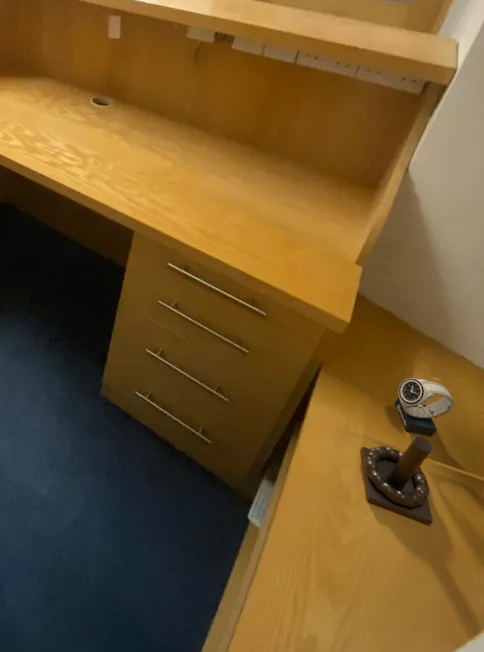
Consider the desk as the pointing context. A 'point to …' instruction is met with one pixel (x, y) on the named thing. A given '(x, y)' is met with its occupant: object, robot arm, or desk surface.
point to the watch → (421, 405)
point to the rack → (400, 479)
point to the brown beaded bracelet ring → (397, 496)
